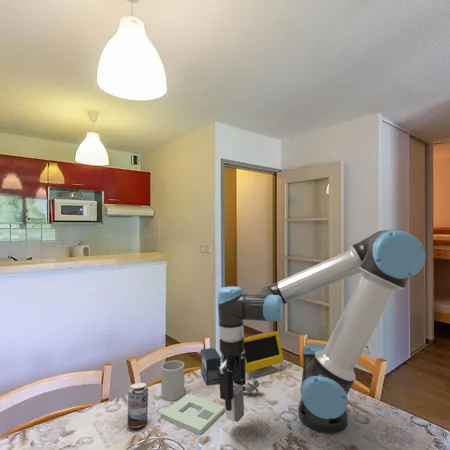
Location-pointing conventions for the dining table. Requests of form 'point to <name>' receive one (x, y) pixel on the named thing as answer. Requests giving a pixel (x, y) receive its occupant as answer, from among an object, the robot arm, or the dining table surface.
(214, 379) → the small box
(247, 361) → the toy computer monitor
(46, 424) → the dining table surface
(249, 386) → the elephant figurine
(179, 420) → the outlet plate
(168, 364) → the mug
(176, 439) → the dining table surface
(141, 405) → the beverage can
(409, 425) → the dining table surface
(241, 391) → the block
